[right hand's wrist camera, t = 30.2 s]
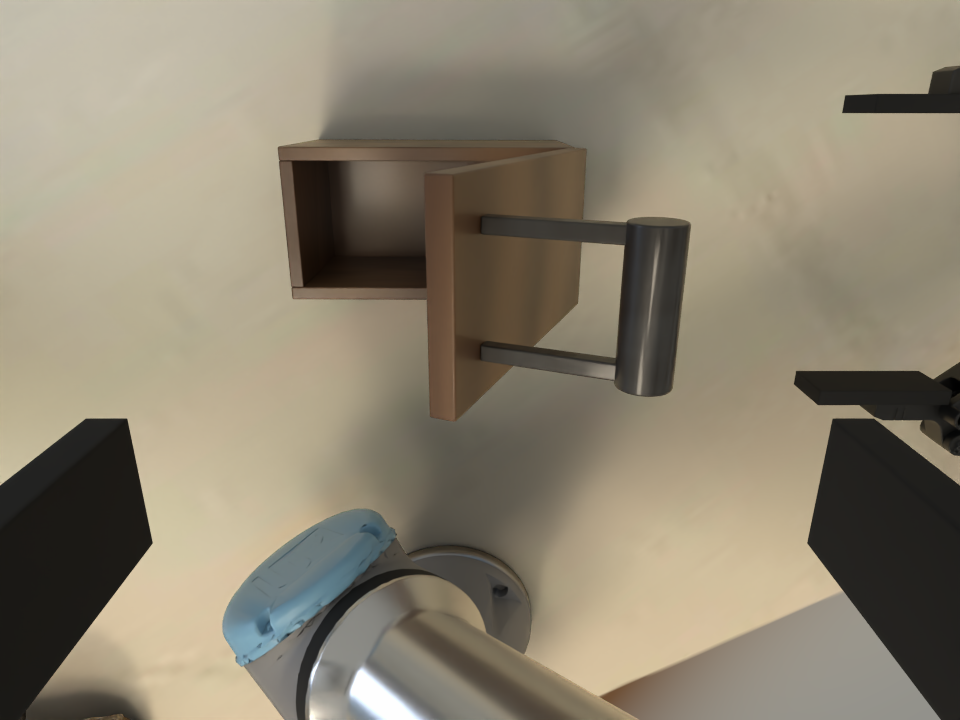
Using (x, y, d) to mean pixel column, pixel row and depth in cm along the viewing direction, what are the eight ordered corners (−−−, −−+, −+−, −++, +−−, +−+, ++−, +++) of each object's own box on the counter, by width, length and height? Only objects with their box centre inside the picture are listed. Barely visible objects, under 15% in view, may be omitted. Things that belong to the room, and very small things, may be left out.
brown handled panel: (429, 417, 26) (656, 460, 23) (422, 172, 23) (686, 183, 20) (560, 302, 42) (705, 317, 38) (567, 147, 38) (726, 151, 35)
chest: (327, 264, 52) (292, 299, 42) (317, 139, 48) (277, 146, 39) (551, 264, 52) (568, 300, 42) (556, 140, 48) (575, 147, 39)
